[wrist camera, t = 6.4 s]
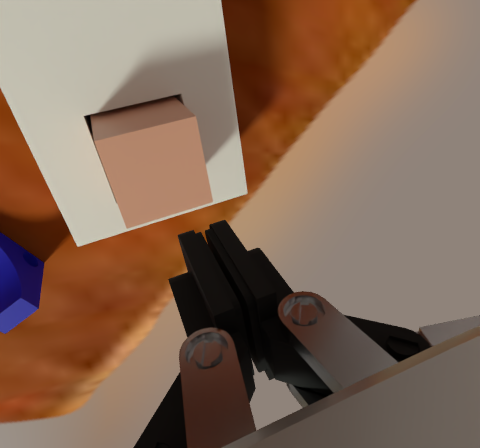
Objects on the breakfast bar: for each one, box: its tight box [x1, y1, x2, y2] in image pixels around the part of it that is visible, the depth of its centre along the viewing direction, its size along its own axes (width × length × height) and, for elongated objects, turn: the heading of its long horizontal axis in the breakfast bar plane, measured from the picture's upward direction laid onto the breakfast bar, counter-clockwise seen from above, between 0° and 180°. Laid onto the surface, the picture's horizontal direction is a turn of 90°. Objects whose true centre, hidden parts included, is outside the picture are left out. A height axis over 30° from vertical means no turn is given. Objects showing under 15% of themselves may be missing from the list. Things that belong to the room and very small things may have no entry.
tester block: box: [0, 0, 247, 247], centre depth 21 cm, size 22×12×7 cm, turn 8°
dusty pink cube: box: [90, 96, 213, 229], centre depth 21 cm, size 5×5×6 cm
